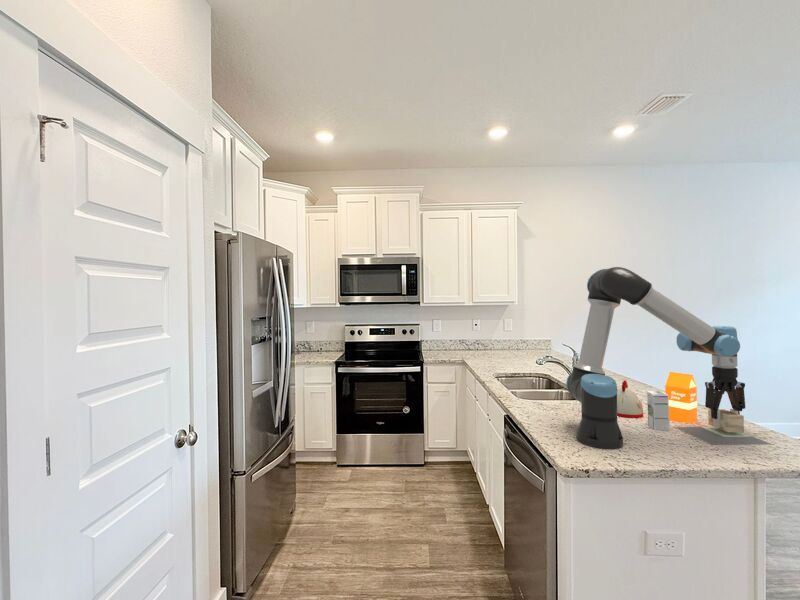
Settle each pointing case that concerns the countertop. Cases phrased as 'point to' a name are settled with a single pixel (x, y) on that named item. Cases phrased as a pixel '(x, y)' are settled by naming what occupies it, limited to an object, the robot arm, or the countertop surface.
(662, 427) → the syrup box
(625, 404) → the kitchen timer
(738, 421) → the maple block
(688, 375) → the orange juice
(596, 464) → the countertop surface
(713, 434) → the rubber mat
